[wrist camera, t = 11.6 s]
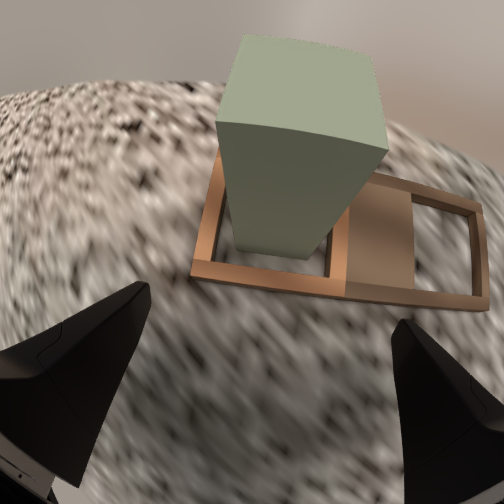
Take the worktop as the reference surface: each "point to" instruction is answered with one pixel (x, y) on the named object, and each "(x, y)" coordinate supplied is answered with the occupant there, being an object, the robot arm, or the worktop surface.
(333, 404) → the worktop surface
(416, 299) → the copper brown frame
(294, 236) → the sage peg
